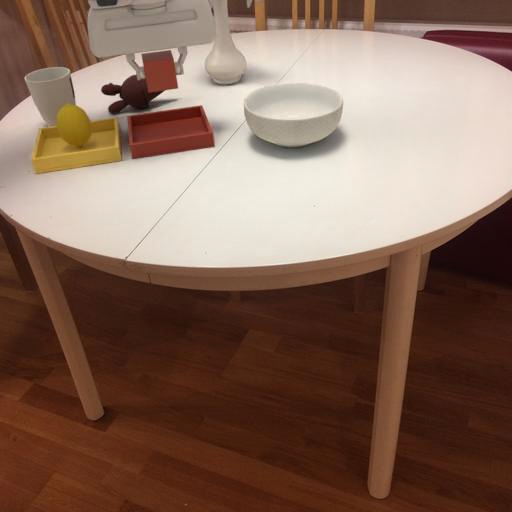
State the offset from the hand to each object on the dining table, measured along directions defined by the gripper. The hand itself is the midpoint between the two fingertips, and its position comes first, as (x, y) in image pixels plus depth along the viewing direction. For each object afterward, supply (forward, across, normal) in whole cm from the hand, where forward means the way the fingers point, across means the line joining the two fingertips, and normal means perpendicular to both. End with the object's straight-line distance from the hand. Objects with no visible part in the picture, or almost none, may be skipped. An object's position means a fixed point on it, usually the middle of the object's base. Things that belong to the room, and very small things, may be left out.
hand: (160, 76), depth 89 cm
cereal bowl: (+11, -21, +8) cm, 25 cm away
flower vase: (+11, -16, -26) cm, 33 cm away
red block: (+2, 0, 0) cm, 2 cm away
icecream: (+11, +4, -17) cm, 21 cm away
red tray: (+11, 0, 0) cm, 11 cm away
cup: (+11, +20, -13) cm, 26 cm away
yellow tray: (+11, +16, 0) cm, 19 cm away
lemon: (+11, +16, 0) cm, 19 cm away
